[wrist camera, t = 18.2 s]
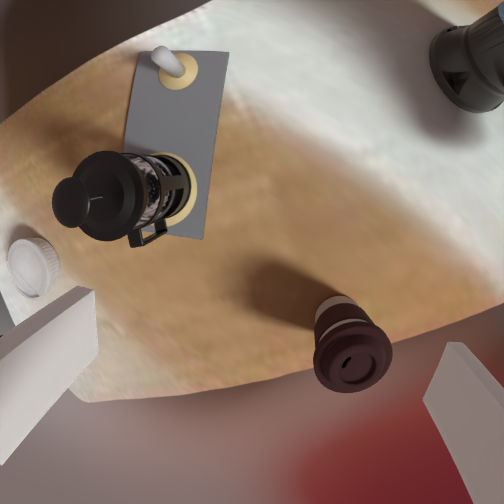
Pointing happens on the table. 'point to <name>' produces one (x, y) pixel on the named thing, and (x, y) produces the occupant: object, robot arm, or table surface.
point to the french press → (121, 195)
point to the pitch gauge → (178, 122)
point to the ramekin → (33, 266)
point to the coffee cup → (348, 347)
